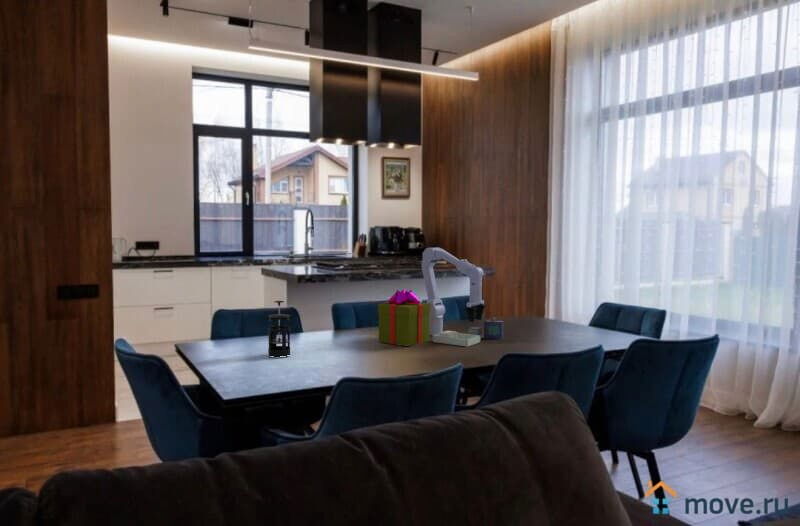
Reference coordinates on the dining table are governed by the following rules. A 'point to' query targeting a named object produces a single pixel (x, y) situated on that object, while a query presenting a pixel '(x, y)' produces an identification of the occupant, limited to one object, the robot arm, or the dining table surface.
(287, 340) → the french press
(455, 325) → the dining table surface
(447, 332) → the egg box
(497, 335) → the flask
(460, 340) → the tote
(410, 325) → the gift box
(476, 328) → the tin
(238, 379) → the dining table surface
